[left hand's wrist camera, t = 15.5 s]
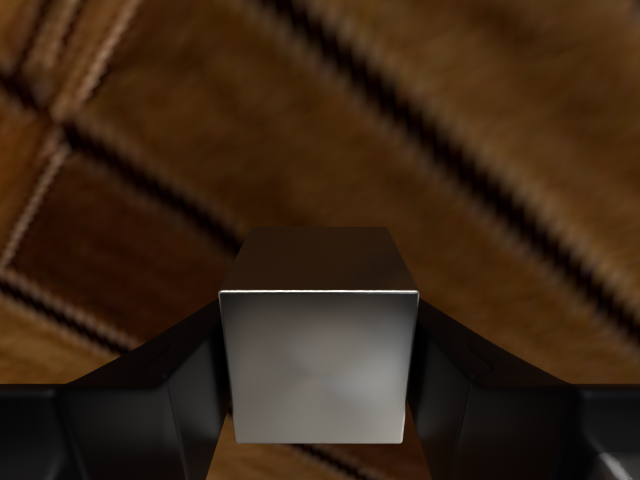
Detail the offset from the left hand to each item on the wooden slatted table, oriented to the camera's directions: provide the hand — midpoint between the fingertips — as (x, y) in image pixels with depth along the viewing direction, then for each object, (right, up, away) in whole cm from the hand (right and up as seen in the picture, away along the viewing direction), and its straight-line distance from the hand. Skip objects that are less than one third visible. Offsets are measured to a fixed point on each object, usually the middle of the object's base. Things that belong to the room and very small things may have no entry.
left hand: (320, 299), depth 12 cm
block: (0, 0, +1) cm, 1 cm away
